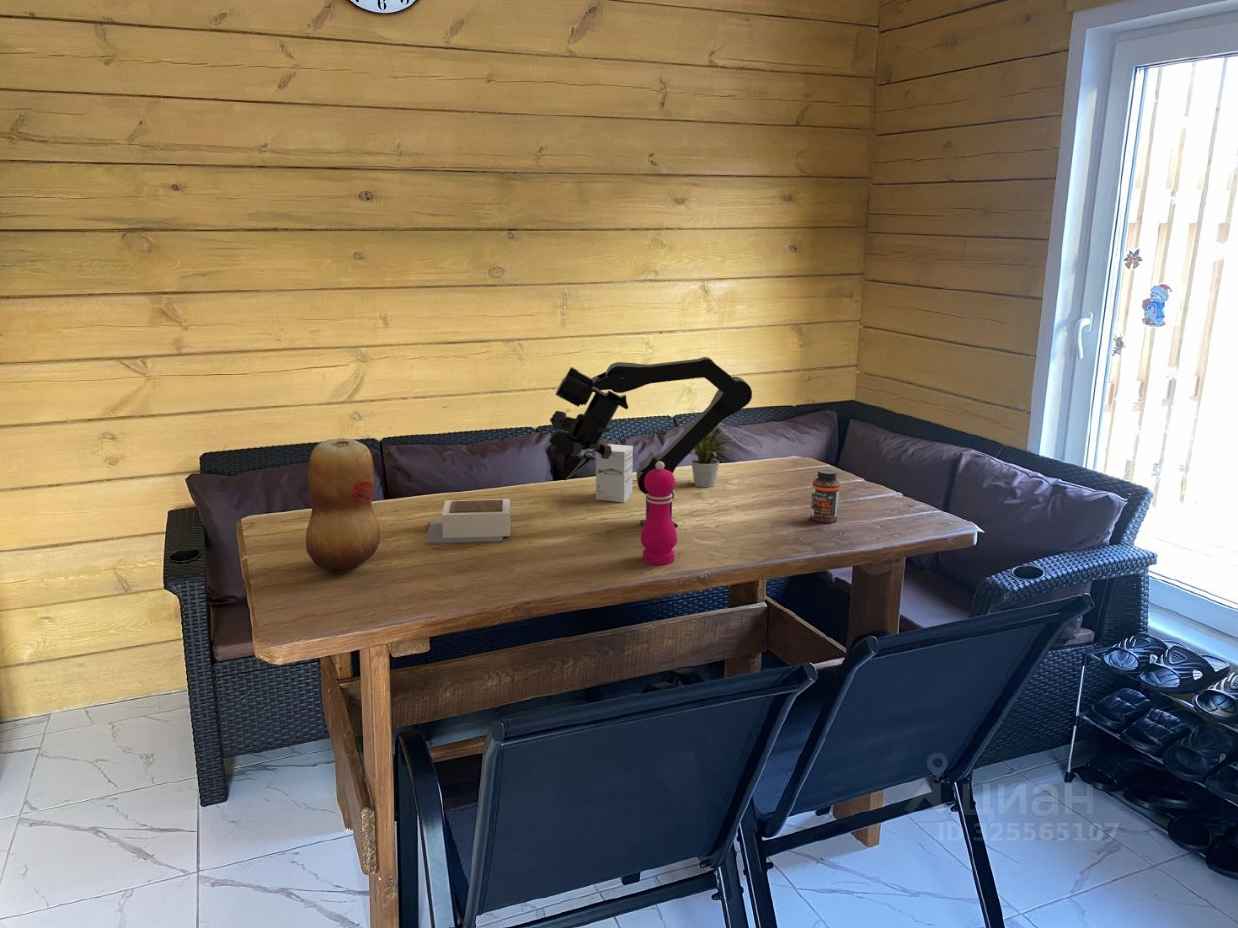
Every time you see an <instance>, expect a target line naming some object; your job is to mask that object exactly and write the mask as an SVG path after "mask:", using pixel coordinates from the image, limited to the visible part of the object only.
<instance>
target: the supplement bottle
mask: <svg viewBox="0 0 1238 928" xmlns="http://www.w3.org/2000/svg"><path fill="white" fill-rule="evenodd" d="M811 488H812V491H811V504H810V505H811V506H810V518H811V519H812V520H813V521H815V522H817V523H822V522H823V524H824V523H827V524H829V523H830V524H831V523H834V522H836V521H837V520H838V516H839V515H838V514H839V513H838V512H839V500H840V499H839V498H840V482H839V480H837V471H836V470H834V469H829V468H821V469H818V471H817V478H814V480H813V482H812V487H811Z"/></svg>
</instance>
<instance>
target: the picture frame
mask: <svg viewBox="0 0 1238 928" xmlns="http://www.w3.org/2000/svg"><path fill="white" fill-rule="evenodd" d="M510 501H511V500H510V498H498V499H497V498H496V499H495V498H493V499H490V498H489V499H488V498H487V499H459V500H455V499H454V500H445V501H444V504H443V507H442V508H443V509H442V512H441V513H442V514H441V519H442V530H443V538H465V537H497V536H503V537H511V502H510Z"/></svg>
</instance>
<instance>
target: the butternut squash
mask: <svg viewBox="0 0 1238 928" xmlns="http://www.w3.org/2000/svg"><path fill="white" fill-rule="evenodd" d="M374 473H375V472H374V462H373V456H372V454H371V451H370V449H369V448H368V446H366V445H365V444H363V443H362V442H359V441H357V440H355V439H351V438H345V437H339V438H332V439H327V440H323V441H321V442H319V443H318V444H317V445H316V446H315V447H314V448H313V450H312V452H311V454H310V456H309V462H308V473H307V485H308V489H309V490H308V491H309V499H310V503H311V513H310V518H309V522H308V524H307V527H306V533H305V544H306V545H305V548H306V553H307V555H308V556H309V558H310V559H311V560H312V562H313V563H314V564H315V565H316V566H318V567H320V568H322V569H324V570H331V569H333V570H332V571H339V570H338V569H340V571H351V570H354V569H357V568H358V567H359V566H361V565H362V564H364V563H365V562H367V561H368V560H369V559H370V558H371V557H373V556H374V555H375V553H376V551H378V548H379V546H380V541H381V540H380V537H381V536H380V535H381V533H380V532H381V531H380V526H379V522H378V519H377V516H376V514H375V511H374V509H373V506H372V501H373V496H374V492H375V489H374V488H375V476H374Z"/></svg>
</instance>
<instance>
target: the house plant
mask: <svg viewBox="0 0 1238 928" xmlns="http://www.w3.org/2000/svg"><path fill="white" fill-rule="evenodd" d="M720 425H721V423H719V424H718V425H717V426H716V427H715V428H714V429H713V430H712V431H711V432H710V433H709V434H708V435H707V436H706V437H705V438H704V439H703V440H702V441H701V442H700V443H699V444H698V445H697V446H696V447H695V448H694V449H693V450H692V451H691V452H690V453H689V454H688V455H690V454H692V452H693V454H694V455H695V456H696V458H693V459H691V467H692V468H691V470H692V475H693V483H694V486H695V487H699V488H712V487H715V485H716V482H717V477H718V476H717V475H718V471H719V466H720V460H719V459H717V458H716V457H717V455H718V453H720V452H721V453H722V452H727V453H730V451H731V449H730V448H731V446H727V447H726V446H721V445H723V444H728V443H731V442H734V440H732V439H731V440H730V439H729V440H727V439H726V440H721V439H723V438H727V436H726V435H727V433H725V432H726V431H728V430H729V428H726V429H723V430H722V431H721V432H719V433H718V434H717V435H716V437H715V438H714V439H713V440H712V437H713V436H714V433H715V432H716V430H717V429H718V428H719V427H720ZM733 434H734V433H731V435H733ZM711 440H712V441H711ZM719 440H721V441H719ZM719 446H721V447H719ZM729 450H730V451H729Z"/></svg>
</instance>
